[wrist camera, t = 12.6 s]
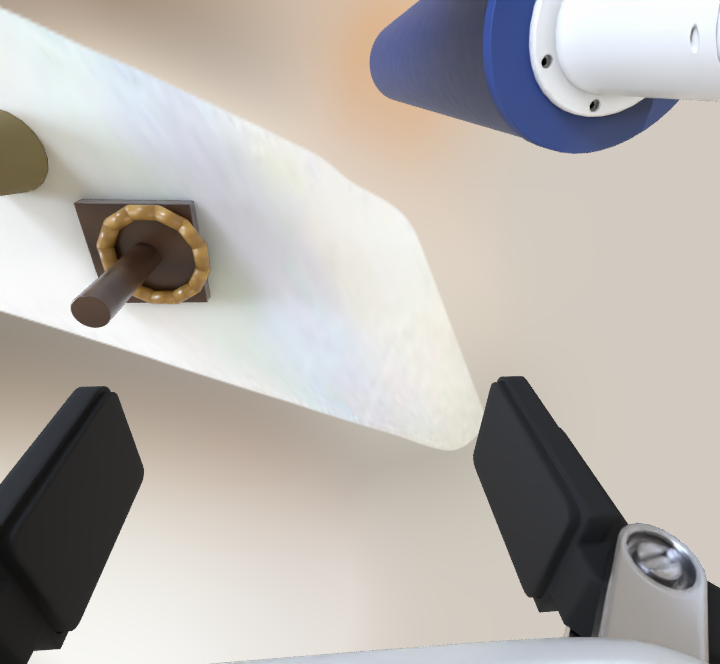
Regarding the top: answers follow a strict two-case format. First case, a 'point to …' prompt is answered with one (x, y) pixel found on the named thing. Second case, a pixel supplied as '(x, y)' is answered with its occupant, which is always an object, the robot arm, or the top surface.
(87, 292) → the rack
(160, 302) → the ring
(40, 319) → the top surface
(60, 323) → the top surface
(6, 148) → the cork
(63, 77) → the top surface
